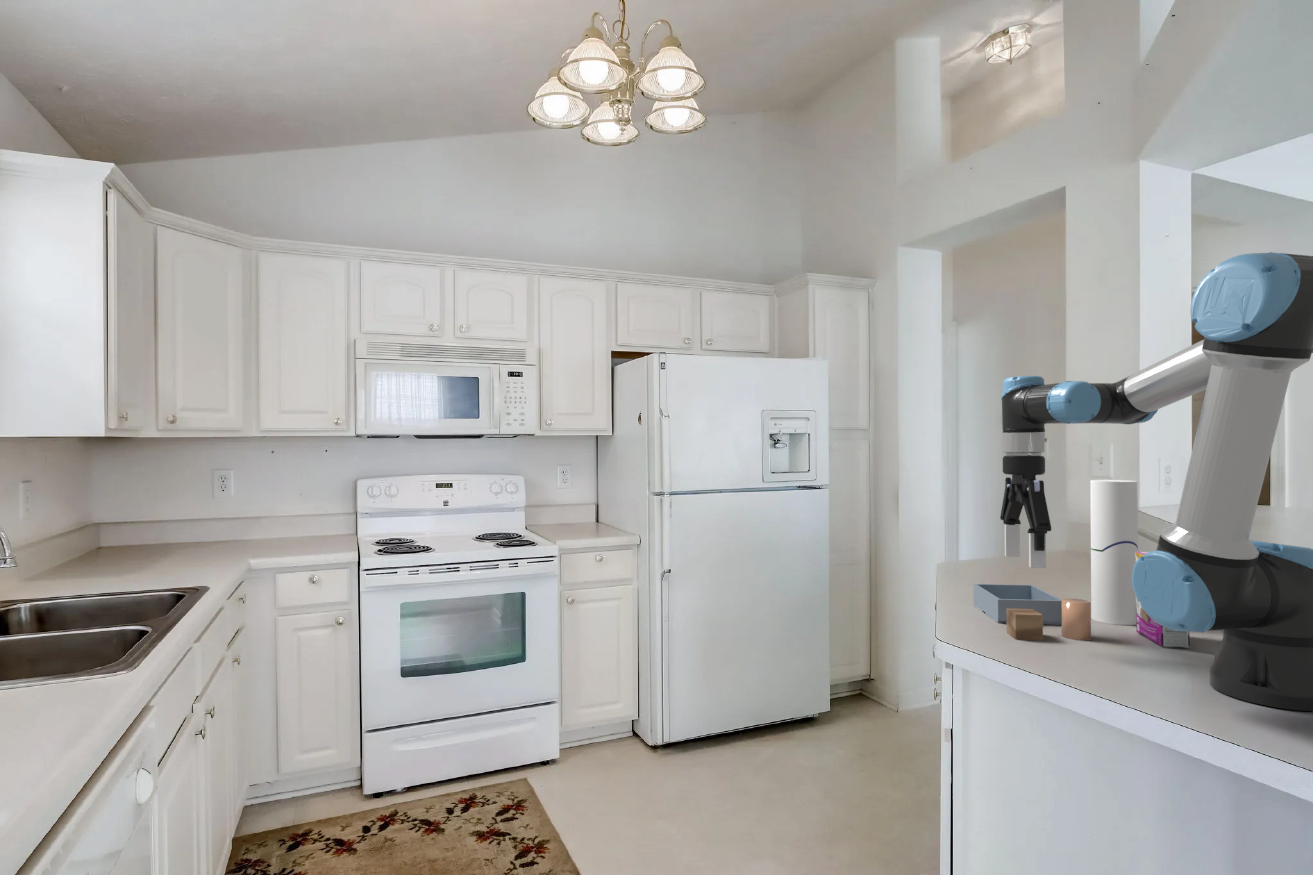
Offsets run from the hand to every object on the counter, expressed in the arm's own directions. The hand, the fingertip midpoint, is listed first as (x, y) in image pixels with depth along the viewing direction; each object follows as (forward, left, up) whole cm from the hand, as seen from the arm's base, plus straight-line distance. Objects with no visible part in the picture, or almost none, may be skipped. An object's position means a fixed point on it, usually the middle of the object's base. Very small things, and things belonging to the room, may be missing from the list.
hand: (1024, 562), depth 143 cm
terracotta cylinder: (+1, -10, -15) cm, 18 cm away
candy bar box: (0, -25, -15) cm, 29 cm away
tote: (+19, -5, -15) cm, 24 cm away
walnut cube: (0, 0, -15) cm, 15 cm away
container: (+16, -24, -15) cm, 32 cm away
